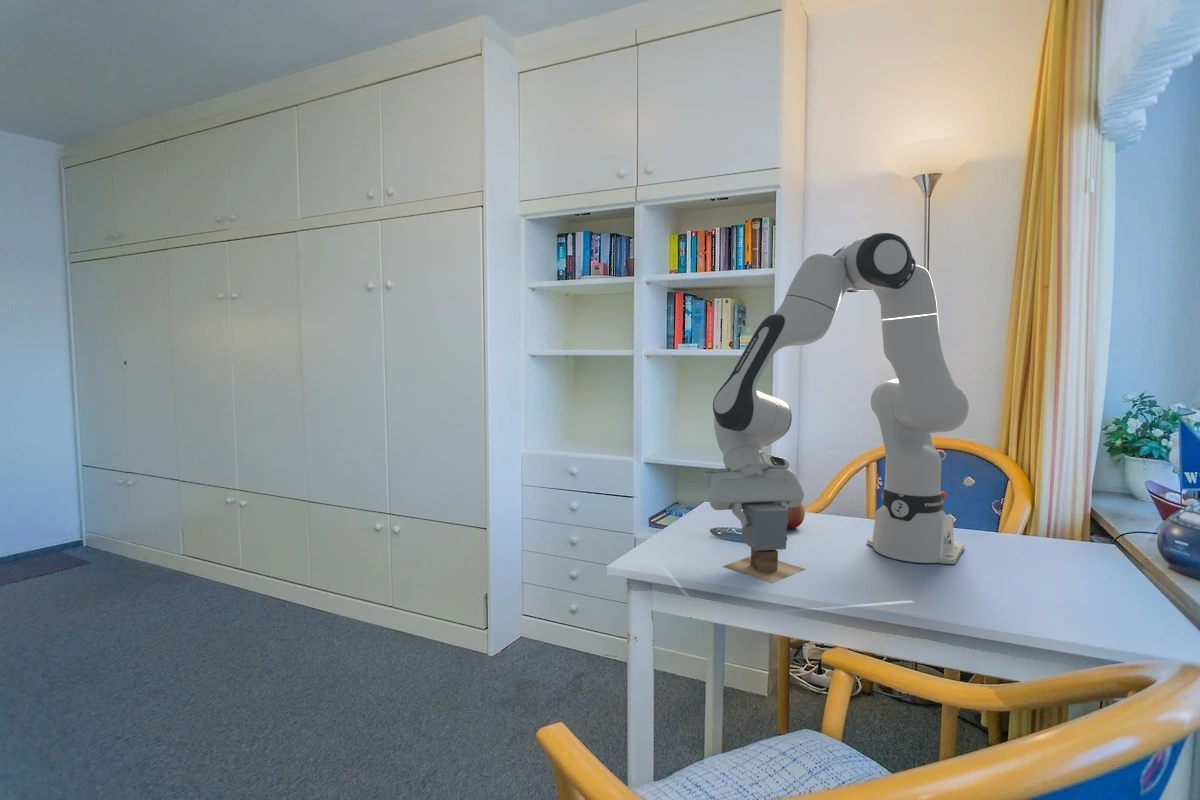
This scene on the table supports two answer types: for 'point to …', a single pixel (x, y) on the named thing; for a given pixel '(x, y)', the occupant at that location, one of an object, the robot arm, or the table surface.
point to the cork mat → (769, 576)
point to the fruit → (795, 516)
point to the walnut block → (764, 560)
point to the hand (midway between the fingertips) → (765, 524)
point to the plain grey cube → (765, 526)
